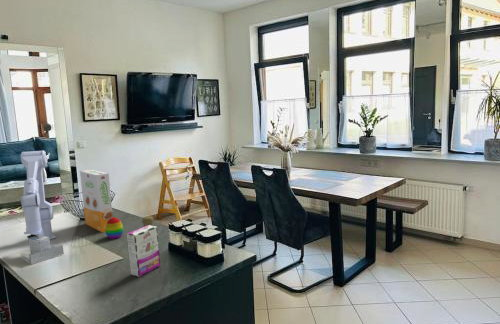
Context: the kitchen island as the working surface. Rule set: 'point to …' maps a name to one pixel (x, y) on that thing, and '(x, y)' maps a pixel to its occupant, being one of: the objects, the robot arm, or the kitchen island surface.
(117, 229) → the decorative egg
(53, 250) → the jig bracket
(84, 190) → the cereal box
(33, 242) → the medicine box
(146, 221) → the cork
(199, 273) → the kitchen island surface
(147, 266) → the candy bar box
